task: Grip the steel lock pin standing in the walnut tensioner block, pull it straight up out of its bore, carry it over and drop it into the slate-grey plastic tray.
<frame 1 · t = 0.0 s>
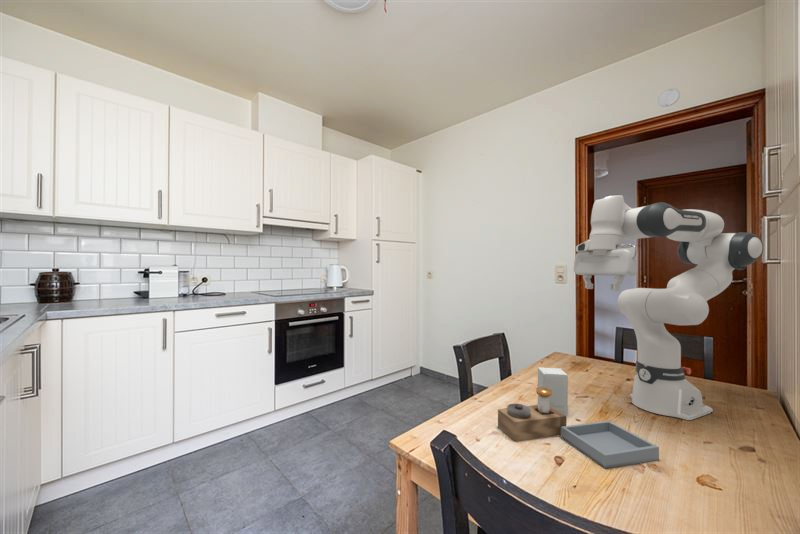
hand: (601, 289, 100), 39 cm above the table, tool pointing down, fingers open, 8 cm apart
tensioner block: (531, 430, 88), on the table
lock pin: (543, 429, 89), resting in tensioner block
supplement box: (552, 410, 102), on the table
tray: (607, 448, 80), on the table
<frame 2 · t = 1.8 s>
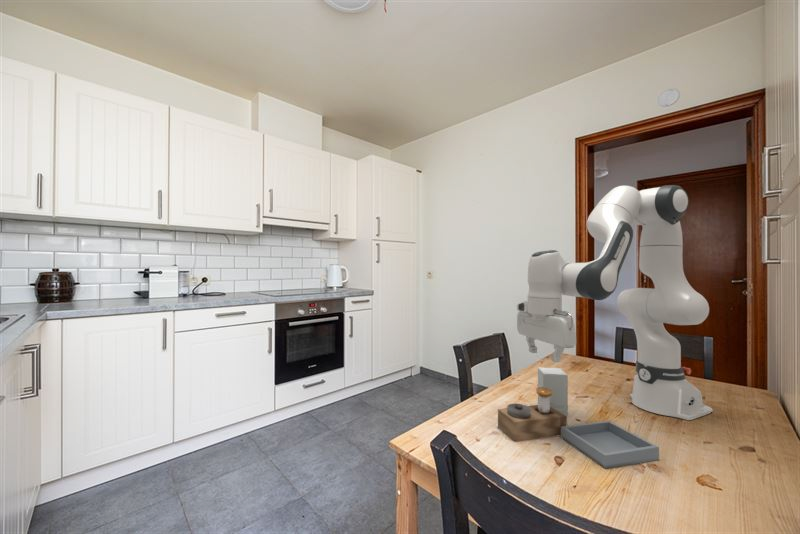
hand: (543, 356, 90), 20 cm above the table, tool pointing down, fingers open, 8 cm apart
nothing on the table moved.
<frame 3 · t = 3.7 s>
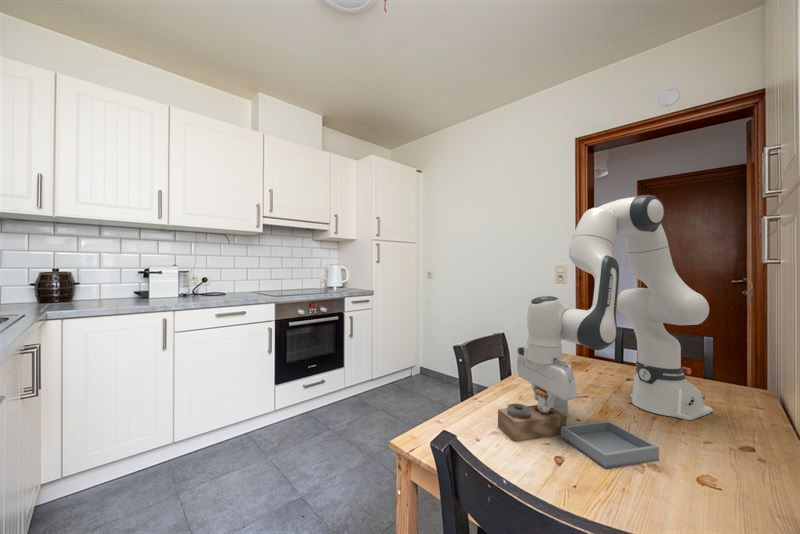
hand: (543, 403, 90), 7 cm above the table, tool pointing down, fingers closed on lock pin, 3 cm apart
lock pin: (543, 429, 89), resting in tensioner block, touching gripper
everything else where it was.
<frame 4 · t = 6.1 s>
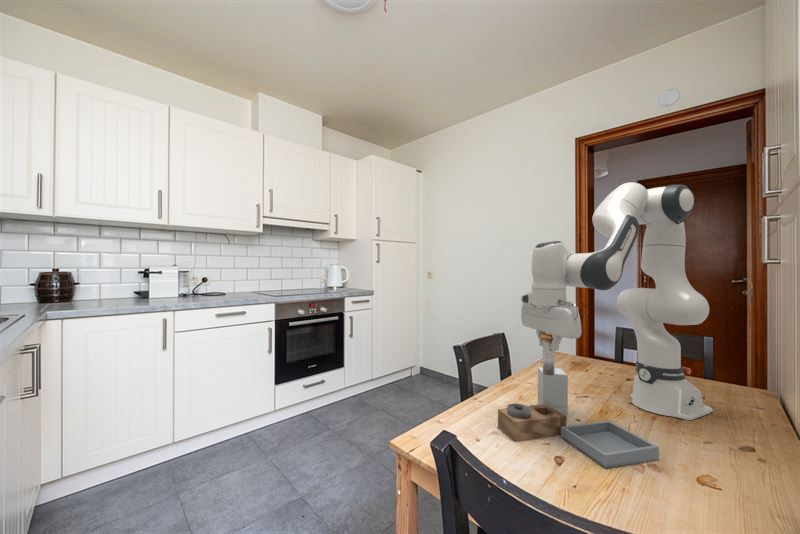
hand: (548, 348, 89), 23 cm above the table, tool pointing down, fingers closed on lock pin, 3 cm apart
lock pin: (548, 373, 89), point 16 cm above the table, touching gripper
everything else where it was.
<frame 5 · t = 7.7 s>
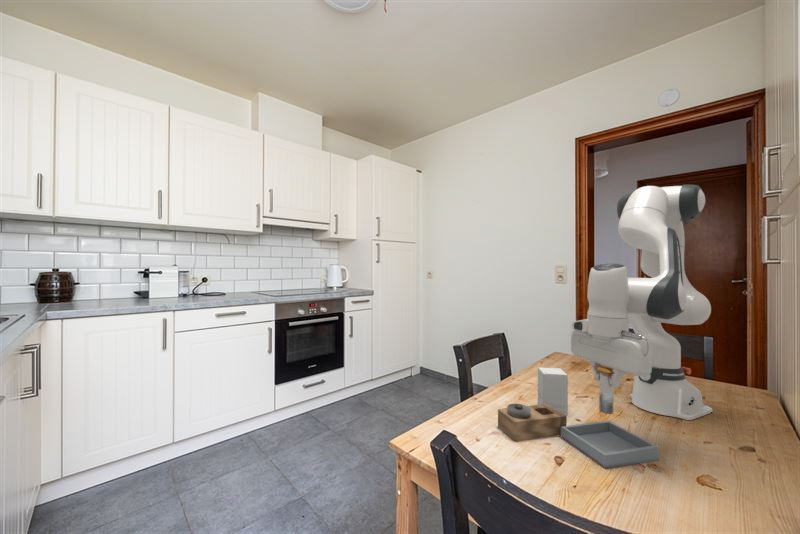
hand: (606, 382, 80), 16 cm above the table, tool pointing down, fingers closed on lock pin, 3 cm apart
lock pin: (606, 411, 80), point 9 cm above the table, touching gripper
everything else where it was.
when the fingers open (9 cm above the table, at t = 8.8 s): lock pin stays where it is, resting on tray.
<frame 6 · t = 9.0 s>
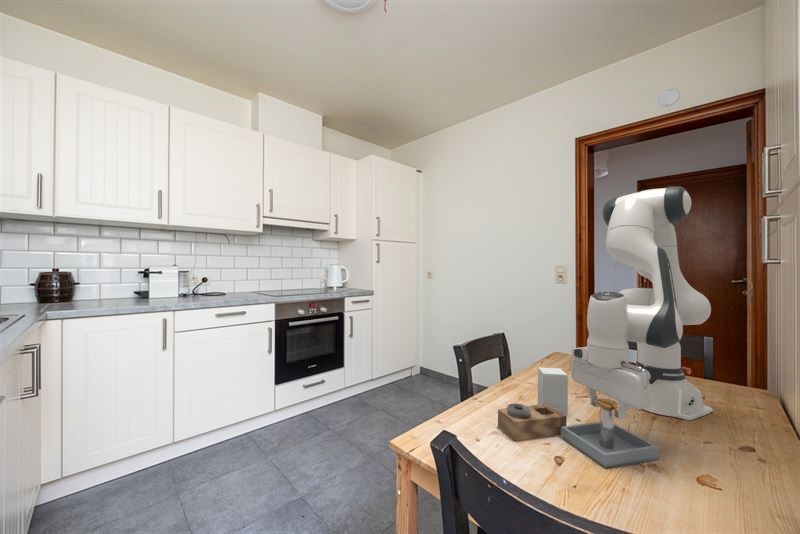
hand: (607, 411, 80), 9 cm above the table, tool pointing down, fingers open, 6 cm apart
lock pin: (606, 445, 80), point 1 cm above the table, touching tray
everything else where it was.
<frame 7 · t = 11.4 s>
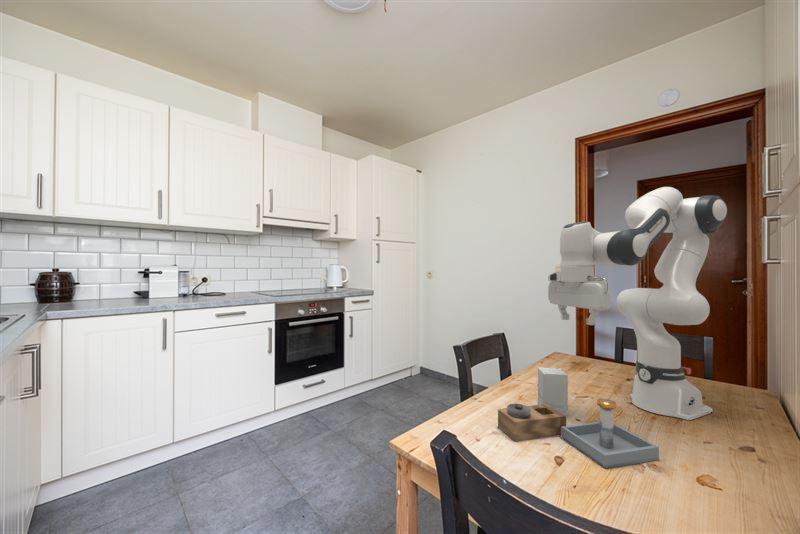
hand: (577, 322, 95), 29 cm above the table, tool pointing down, fingers open, 8 cm apart
nothing on the table moved.
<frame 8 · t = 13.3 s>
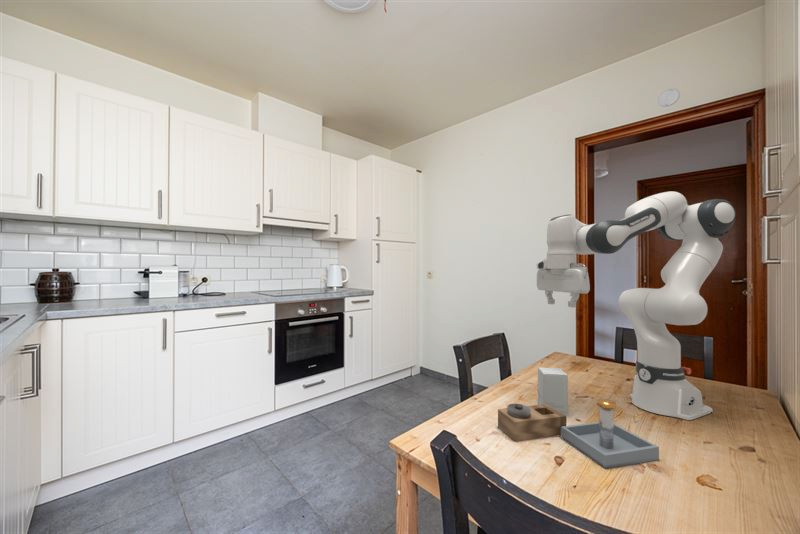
hand: (561, 305, 105), 33 cm above the table, tool pointing down, fingers open, 8 cm apart
nothing on the table moved.
at the end: lock pin inside the target area on the tray (0.1 cm from its centre), point 0.6 cm above the tray's base; the gripper is holding nothing; lock pin touching tray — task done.
